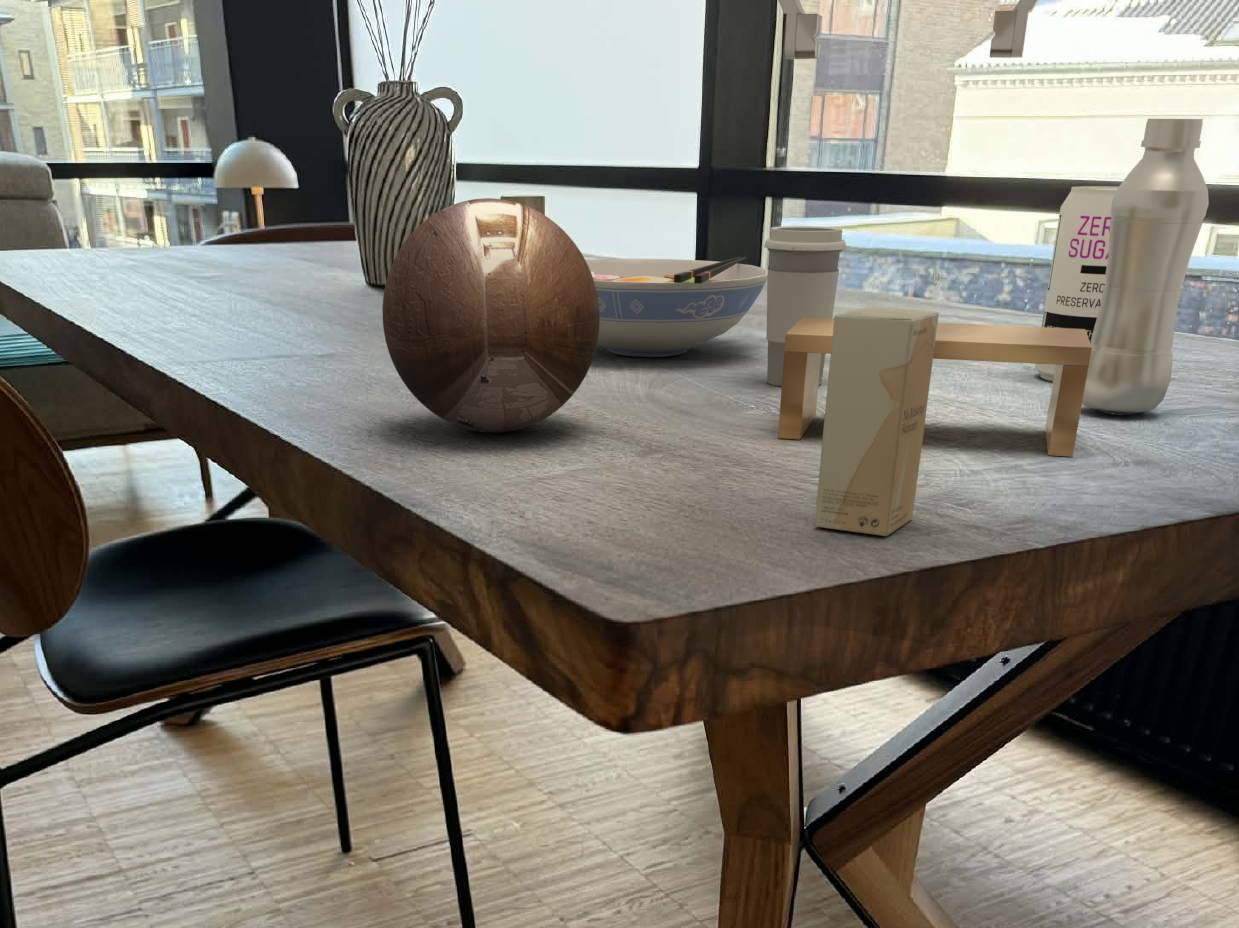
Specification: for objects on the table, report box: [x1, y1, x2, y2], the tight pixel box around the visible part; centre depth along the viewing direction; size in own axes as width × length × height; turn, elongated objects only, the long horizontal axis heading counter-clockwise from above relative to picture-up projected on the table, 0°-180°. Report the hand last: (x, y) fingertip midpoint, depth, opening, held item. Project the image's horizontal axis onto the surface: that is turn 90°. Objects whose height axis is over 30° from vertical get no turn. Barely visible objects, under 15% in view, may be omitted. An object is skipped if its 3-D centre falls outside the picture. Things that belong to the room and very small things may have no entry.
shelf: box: [777, 317, 1092, 458], centre depth 95 cm, size 20×9×7 cm, turn 75°
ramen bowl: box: [585, 256, 768, 358], centre depth 128 cm, size 25×23×8 cm
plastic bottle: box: [1082, 118, 1209, 415], centre depth 100 cm, size 6×7×20 cm
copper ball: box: [381, 197, 600, 434], centre depth 94 cm, size 15×15×15 cm
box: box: [813, 305, 940, 537], centre depth 73 cm, size 5×4×11 cm
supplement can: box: [1034, 185, 1119, 382], centre depth 115 cm, size 8×8×15 cm
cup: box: [763, 225, 847, 387], centre depth 113 cm, size 7×7×12 cm
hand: (901, 58), depth 63 cm, fingers open, 8 cm apart
